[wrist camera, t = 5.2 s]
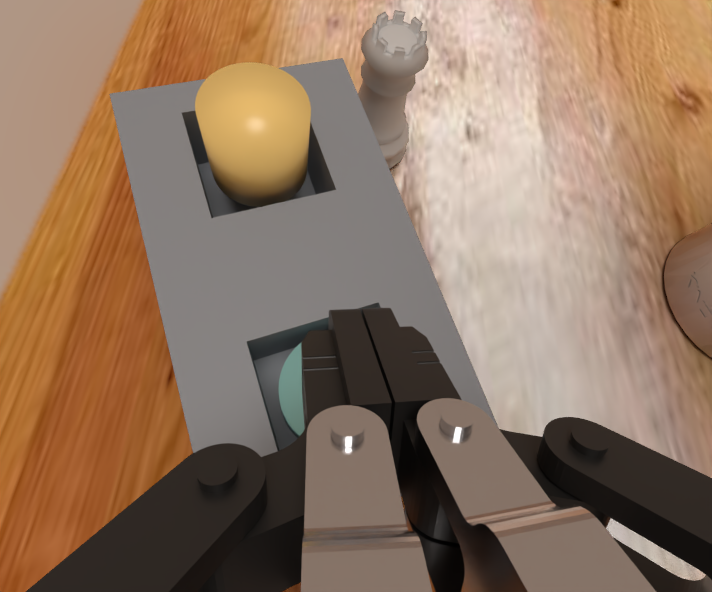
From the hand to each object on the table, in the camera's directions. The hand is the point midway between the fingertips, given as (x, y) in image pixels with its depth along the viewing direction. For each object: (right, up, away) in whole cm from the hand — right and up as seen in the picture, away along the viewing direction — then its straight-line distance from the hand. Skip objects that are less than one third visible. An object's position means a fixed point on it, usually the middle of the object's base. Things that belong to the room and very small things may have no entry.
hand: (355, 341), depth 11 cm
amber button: (-4, +7, +8) cm, 11 cm away
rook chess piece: (+1, +10, +17) cm, 20 cm away
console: (-3, 0, +12) cm, 13 cm away
